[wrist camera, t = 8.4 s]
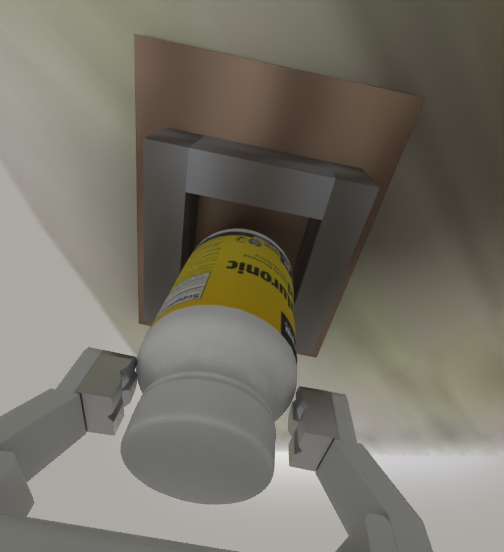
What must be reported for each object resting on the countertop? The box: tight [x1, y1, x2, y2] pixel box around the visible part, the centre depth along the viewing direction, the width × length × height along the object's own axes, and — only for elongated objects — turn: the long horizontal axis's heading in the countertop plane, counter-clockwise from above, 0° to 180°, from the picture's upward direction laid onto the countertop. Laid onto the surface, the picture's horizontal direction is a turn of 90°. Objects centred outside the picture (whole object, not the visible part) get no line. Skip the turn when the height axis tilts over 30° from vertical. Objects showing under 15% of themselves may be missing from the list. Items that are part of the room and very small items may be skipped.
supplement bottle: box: [121, 229, 297, 504], centre depth 12 cm, size 5×5×10 cm
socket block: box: [134, 34, 425, 357], centre depth 19 cm, size 14×18×4 cm
